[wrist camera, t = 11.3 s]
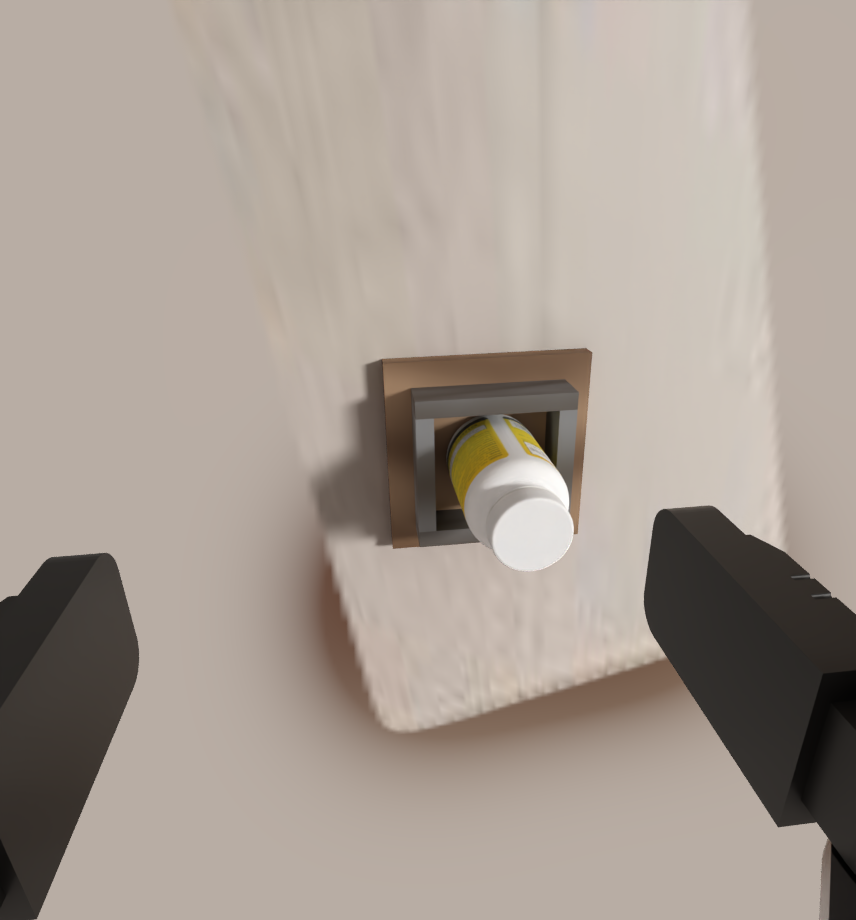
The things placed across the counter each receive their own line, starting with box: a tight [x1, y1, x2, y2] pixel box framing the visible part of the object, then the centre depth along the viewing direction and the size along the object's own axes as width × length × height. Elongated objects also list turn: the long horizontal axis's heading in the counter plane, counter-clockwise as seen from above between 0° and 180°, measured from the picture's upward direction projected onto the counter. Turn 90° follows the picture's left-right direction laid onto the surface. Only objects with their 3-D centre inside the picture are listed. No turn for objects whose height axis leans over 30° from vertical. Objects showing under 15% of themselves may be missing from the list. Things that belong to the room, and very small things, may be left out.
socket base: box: [382, 348, 592, 549], centre depth 38 cm, size 12×12×4 cm
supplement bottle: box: [446, 414, 574, 572], centre depth 34 cm, size 5×5×10 cm
